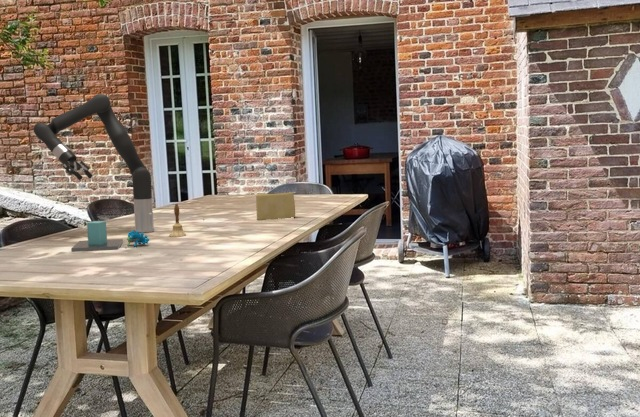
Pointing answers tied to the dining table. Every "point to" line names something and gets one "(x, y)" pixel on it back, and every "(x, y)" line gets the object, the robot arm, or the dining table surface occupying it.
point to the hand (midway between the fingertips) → (86, 178)
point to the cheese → (275, 206)
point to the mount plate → (84, 245)
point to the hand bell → (177, 225)
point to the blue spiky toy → (137, 238)
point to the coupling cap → (97, 232)
